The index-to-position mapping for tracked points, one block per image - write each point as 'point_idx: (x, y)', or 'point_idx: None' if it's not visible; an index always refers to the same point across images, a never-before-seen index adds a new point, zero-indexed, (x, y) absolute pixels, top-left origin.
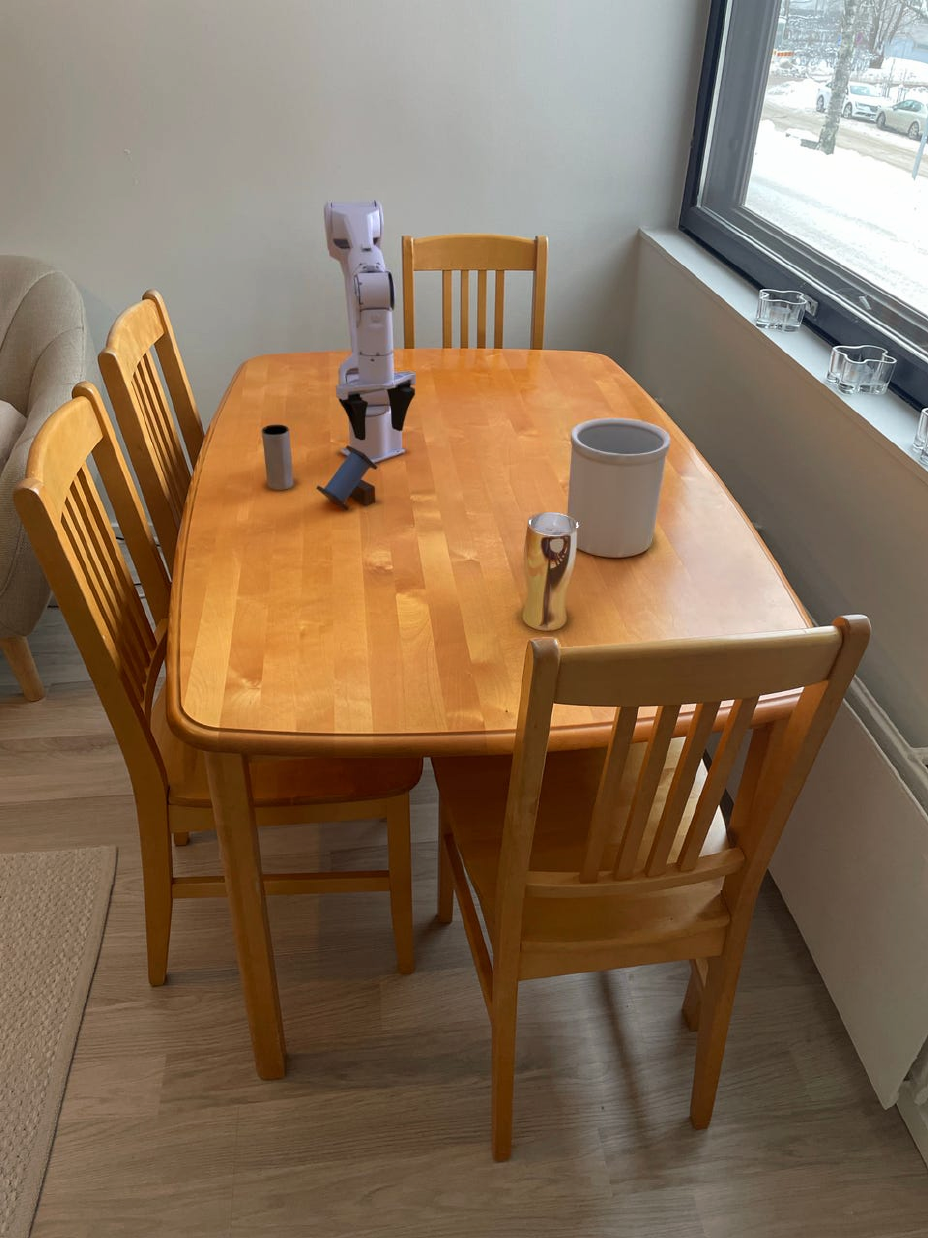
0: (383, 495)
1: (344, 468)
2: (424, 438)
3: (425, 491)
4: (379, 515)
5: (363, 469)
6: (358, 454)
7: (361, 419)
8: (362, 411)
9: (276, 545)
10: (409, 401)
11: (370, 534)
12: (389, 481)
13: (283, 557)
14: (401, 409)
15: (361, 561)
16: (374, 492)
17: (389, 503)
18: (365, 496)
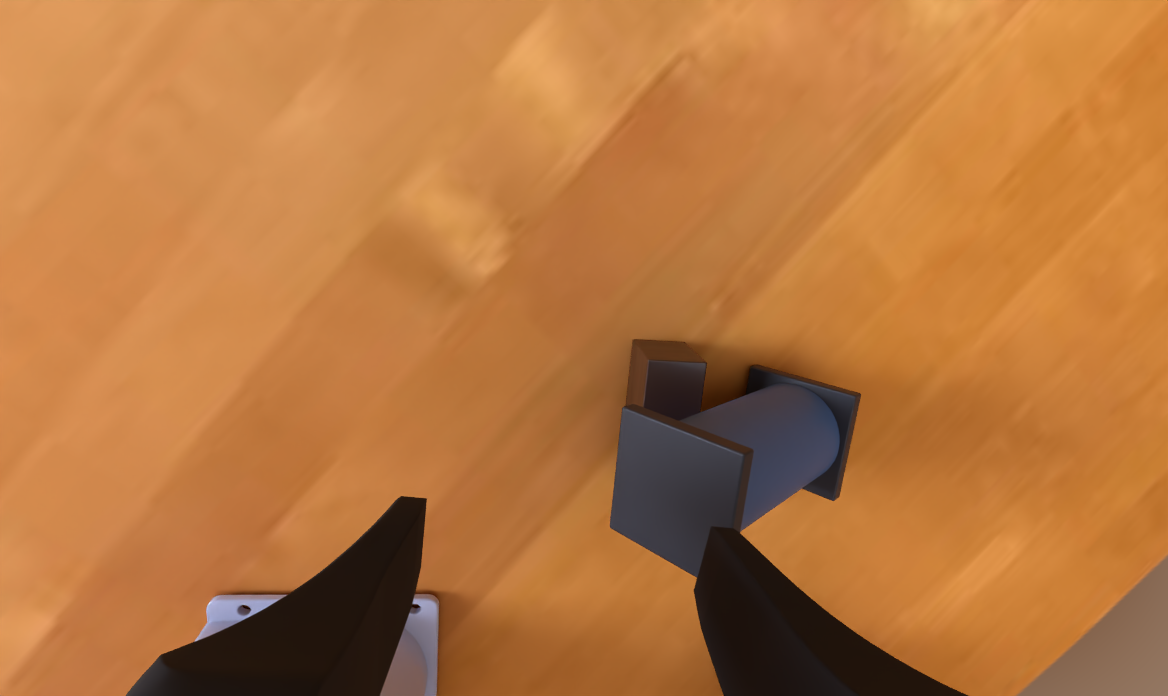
0: (565, 362)
1: (787, 473)
2: (34, 650)
3: (404, 263)
4: (703, 242)
5: (711, 419)
6: (748, 477)
7: (819, 620)
8: (865, 665)
9: (1085, 335)
10: (270, 618)
11: (842, 148)
12: (457, 438)
13: (1136, 253)
14: (377, 596)
15: (1024, 8)
16: (645, 351)
17: (599, 292)
18: (692, 353)
